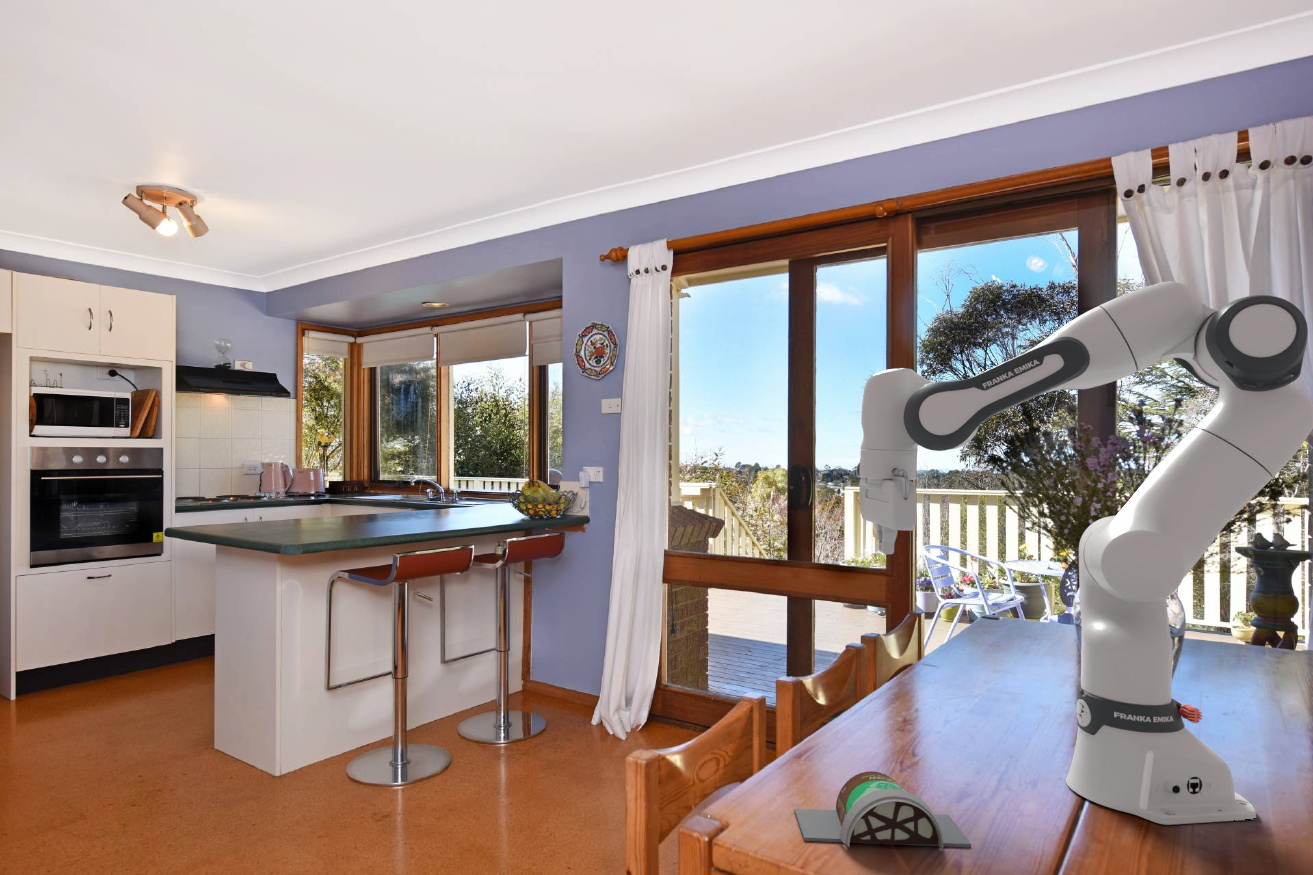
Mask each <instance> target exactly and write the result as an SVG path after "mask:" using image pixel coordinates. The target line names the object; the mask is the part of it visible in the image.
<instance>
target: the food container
mask: <svg viewBox="0 0 1313 875" xmlns="http://www.w3.org/2000/svg"><path fill="white" fill-rule="evenodd" d="M835 810H836V811H837V814H838V817H839V821H840V824H841V831H840V839H841V841H842V842H841V843H843V845H846V846H847V847H848V848H850V845H851V844H850V843H853V844H872V843H879V844H878V845H891V846H901V845H903V846H906V845H905V844H932V845H939V846H938V847H939V848H940V849H941V850H944V846H943V838H942V833H941V830H940V827H939V824H938V822H937V819H936V817H935V815H934V814H935V813H934V812H933V809H931V808H930V807H929V805H928V804H927V803H926V802H925V801H924V800H922V799H921V798H920V797H918V796H917V795H916V794H914V793H911V792H909V791H906V790H905V789H904V788H903V787H902V786H901V785H900V784H899V783H898V782H897V781H896V780H894V778H891V777H890V776H888V775H887V774H885V773H882V772H879V771H874V770H873V771H864V772H860V773H858V774H855V775H854V776H852V777H850V778H849V779H848V780H847V781H846V782H845V783H844V785H843V786H842V787H841V788H840V791H839V793H838V795H837V799H836V802H835Z"/></svg>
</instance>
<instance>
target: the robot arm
mask: <svg viewBox="0 0 1313 875" xmlns="http://www.w3.org/2000/svg"><path fill="white" fill-rule="evenodd" d="M1308 337H1309V329H1308V323H1307V319H1306V317H1305V316H1304V314H1303V312H1302V311H1301V310H1300V309H1299V307H1298V306H1296V305H1295V304H1294V303H1292V302H1290V301H1289V300H1287V299H1284V298H1282V297H1278V296H1275V295H1267V294H1259V295H1258V294H1257V295H1249V296H1244V297H1240V298H1237V299H1235V300H1232V301H1229V302H1228V303H1227V304H1224V305H1223V306H1222V307H1220V308H1219V309H1218V310H1217V308H1211V307H1209V306H1207V305H1206V304H1204V303H1202V300H1201V299H1200V296H1198V294H1197V293H1196V292H1195V291H1194V290H1193V289H1191V288H1190V287H1189V286H1187V285H1185V284H1184V283H1181V282H1178V281H1173V280H1169V281H1163V282H1158V283H1155V284H1151V285H1148V286H1144V287H1142V288H1139V289H1136V290H1133V291H1130V292H1128V293H1125V294H1122V295H1120V296H1118V297H1115V298H1113V299H1111V300H1109V301H1106V302H1103V303H1102V304H1100V305H1098V306H1096V307H1093V308H1092V309H1090V310H1087V311H1086V312H1084V313H1083V314H1080V315H1079V316H1077V317H1075V318H1074V319H1072V320H1071V321H1069V322H1067V323H1066V324H1063V326H1062V327H1060V328H1058V329H1057V330H1056V331H1054V332H1053V333H1052V334H1050V335H1049V336H1047V337H1046V338H1044V340H1043V341H1040V343H1038V344H1037V345H1035V346H1034V347H1032V348H1031V349H1029V350H1028V351H1026V352H1023V353H1021V354H1019V355H1017V356H1015V357H1014V358H1011V359H1009V360H1007V361H1004V362H1002V363H1000V364H998V365H996V366H994V367H992V368H991V367H990V368H989V369H987V370H986V371H983V372H981V373H978V374H977V375H973V376H972V377H968V378H966V379H965V378H964V379H961V380H959V379H958V380H949V381H947V380H946V381H945V380H944V381H936V382H934V381H932V380H930V379H928V378H926V377H923V376H922V375H921V374H919V373H917V372H916V371H915V370H913V369H912V368H907V367H900V368H899V367H898V368H891V369H886V370H885V369H884V370H881V371H878V372H876V373H874V374H872V375H871V376H870V377H868V379H867V380H866V382H865V386H864V389H863V395H862V404H861V405H862V407H861V418H860V419H861V427H862V431H863V438H862V443H861V444H860V455H859V456H860V459H859V462H858V464H857V466H856V477H857V478H860V479H859V482H858V483H859V486H858V487H859V503H860V504H859V506H860V507H859V509H860V510H859V511H860V513H861V514H860V515H861V517H862V519H863V520H864V521H868V522H871V523H873V524H875V532H876V537H877V542H878V543H877V550H878V552H880V553H882V554H884V555H893V554H894V553H895V544H896V539H897V537H898V531H911V532H912V531H915V529H916V526H917V518H918V517H917V515H918V514H917V492H916V490H917V489H916V485H915V483H914V482H913V481H914V480H917V464H918V463H917V458H918V456H917V455H918V446H920V447H922V448H924V449H926V450H931V451H933V452H943V451H948V450H954V449H959V448H961V447H963V446H965V445H967V444H968V443H970V441H972V440H973V439H974V437H975V436H976V435H977V433H978V431H979V429H980V425H981V424H983V423H984V422H985V421H986V420H988V419H990V418H992V417H993V416H995V415H998V414H1000V413H1002V412H1004V411H1007V410H1009V409H1011V408H1013V407H1016V406H1018V405H1019V404H1021V403H1024V402H1027V401H1029V400H1031V399H1033V398H1036V397H1038V396H1040V395H1043V394H1046V393H1050V392H1054V391H1060V390H1089V389H1091V388H1096V387H1100V386H1103V385H1106V384H1109V383H1113V382H1116V381H1118V380H1121V379H1124V378H1126V377H1129V376H1131V375H1133V374H1136V373H1138V372H1139V371H1142V370H1144V369H1147V368H1148V367H1151V366H1153V365H1155V364H1157V363H1159V362H1163V361H1166V360H1169V359H1173V360H1174V361H1175V362H1176V363H1177V364H1178V365H1180V366H1181V367H1182V368H1184V369H1185V370H1186V371H1187V372H1188V373H1190V375H1191V376H1193V377H1194V378H1195V379H1196V380H1198V381H1199V382H1200V383H1202V384H1203V385H1205V386H1207V387H1209V388H1212V389H1215V390H1218V391H1219V392H1218V393H1219V394H1218V397H1217V400H1216V402H1215V403H1214V405H1213V407H1212V408H1211V409H1210V410H1209V412H1207V414H1206V415H1205V416H1204V417H1203V418H1202V419H1201V420H1200V421H1199V422H1197V424H1195V426H1194V427H1193V428H1192V429H1191V430H1190V431H1189V432H1188V433H1187V434H1186V435H1185V436H1184V437H1183V438H1181V440H1180V441H1179V442H1178V443H1177V444H1176V445H1175V446H1174V447H1173V448H1172V449H1171V450H1170V451H1169V452H1168V453H1167V454H1166V456H1164V457H1163V458H1162V459H1161V460H1160V462H1158V464H1157V465H1156V466H1155V467H1154V468H1152V470H1151V471H1150V472H1149V473H1148V476H1147V477H1146V478H1145V479H1144V481H1143V482H1142V483H1141V485H1140V486H1139V487H1138V489H1137V490H1136V491H1135V492H1134V494H1132V496H1131V497H1130V499H1129V500H1128V501H1127V502H1126V503H1125V505H1124V506H1123V507H1122V508H1121V509H1120V510H1119V512H1117V514H1116V515H1110V516H1109V515H1108V516H1105V517H1101V518H1100V519H1098V520H1095V521H1094V522H1093V523H1091V524H1090V525H1089V526H1088V527H1087V528H1086V529H1085V530H1084V532H1083V533H1082V535H1081V537H1080V540H1079V544H1078V576H1079V577H1078V579H1079V584H1078V585H1079V604H1080V605H1079V606H1080V610H1079V611H1080V624H1081V626H1080V627H1081V628H1080V629H1081V647H1080V648H1081V650H1080V652H1081V654H1080V684H1079V685H1077V688H1076V689H1077V690H1076V723H1077V734H1076V740H1075V741H1076V742H1075V747H1074V752H1073V757H1072V760H1071V764H1070V768H1069V770H1068V772H1067V775H1066V778H1065V782H1066V784H1067V786H1068V787H1069V788H1070V789H1071V790H1072V791H1073V792H1075V793H1076V794H1077V795H1079V796H1081V797H1083V798H1085V799H1087V800H1088V801H1091V802H1094V803H1096V804H1098V805H1100V806H1103V807H1107V808H1109V809H1114V810H1116V811H1119V812H1124V813H1128V814H1131V815H1135V816H1137V817H1141V818H1143V819H1145V820H1148V821H1151V822H1153V823H1157V824H1160V825H1166V826H1170V825H1184V824H1187V825H1188V824H1199V823H1200V824H1201V823H1217V822H1218V823H1219V822H1233V821H1234V820H1235V821H1246V820H1245V819H1250V818H1256V819H1257V813H1256V810H1255V807H1254V806H1253V805H1252V803H1251V802H1249V801H1248V800H1247V799H1246V798H1245V797H1243V796H1242V795H1240V794H1239V793H1238V792H1236V791H1235V784H1234V779H1233V775H1232V772H1231V768H1230V767H1229V765H1228V764H1227V762H1226V761H1225V760H1224V759H1223V757H1221V756H1220V755H1219V754H1218V753H1217V752H1216V751H1214V750H1213V749H1212V748H1211V747H1210V746H1208V745H1207V744H1206V743H1204V742H1203V741H1202V740H1201V739H1200V738H1198V737H1197V736H1196V735H1195V734H1194V733H1192V732H1191V731H1190V730H1189V729H1187V728H1186V727H1185V726H1186V725H1185V723H1184V720H1183V719H1185V720H1187V721H1189V722H1191V723H1193V724H1197V723H1199V722H1201V720H1203V712H1202V711H1201V709H1199V708H1196V707H1193V706H1192V705H1190V704H1182V703H1181V702H1179V701H1177V700H1176V699H1174V698H1172V692H1173V691H1172V684H1173V683H1172V682H1173V681H1172V680H1173V679H1172V678H1173V639H1172V636H1171V629H1170V622H1169V614H1168V603H1167V598H1168V597H1169V596H1171V595H1172V594H1173V593H1174V592H1175V591H1176V590H1177V589H1178V588H1179V586H1180V585H1181V583H1182V582H1183V580H1184V578H1185V577H1186V576H1187V575H1188V573H1189V572H1190V571H1191V570H1193V568H1194V566H1195V565H1196V564H1197V563H1198V561H1199V560H1200V559H1201V558H1202V557H1203V556H1204V554H1205V553H1206V551H1208V548H1210V546H1211V545H1212V544H1213V542H1214V541H1215V539H1216V538H1217V536H1218V535H1219V534H1220V532H1222V530H1223V529H1224V528H1225V526H1226V525H1228V523H1229V522H1230V521H1231V520H1232V519H1233V518H1234V517H1235V516H1236V515H1237V514H1238V513H1239V512H1240V511H1241V510H1242V509H1243V508H1244V507H1245V506H1246V505H1247V504H1248V503H1249V502H1250V501H1251V500H1252V499H1253V498H1254V497H1255V496H1256V495H1257V494H1258V493H1259V492H1261V490H1262V489H1263V488H1264V487H1265V486H1266V485H1267V484H1268V483H1269V482H1270V481H1271V480H1272V479H1273V478H1275V477H1276V476H1277V474H1278V473H1280V472H1281V470H1283V469H1284V467H1285V466H1286V465H1287V464H1288V463H1289V461H1291V459H1292V458H1293V457H1294V456H1295V454H1296V453H1297V452H1298V451H1299V449H1300V448H1301V447H1302V445H1304V442H1305V441H1306V440H1307V439H1308V437H1309V435H1310V434H1311V432H1312V430H1313V401H1312V400H1311V398H1309V396H1308V395H1306V394H1305V393H1304V392H1303V391H1301V390H1300V389H1299V388H1297V387H1296V386H1295V385H1293V384H1292V383H1294V382H1295V381H1296V380H1297V379H1299V377H1300V376H1301V373H1302V367H1303V362H1304V357H1305V352H1306V349H1307V344H1308V339H1309V338H1308Z"/></svg>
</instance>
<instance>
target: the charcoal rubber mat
mask: <svg viewBox="0 0 1313 875" xmlns="http://www.w3.org/2000/svg"><path fill="white" fill-rule="evenodd" d="M793 812H794V815H795V817H796V821H797V824H798V826H799V829H800V833H801V836H802V838H803V841H804V842H822V843H823V842H829V843H843V842H842V841H841V839H840V831H841V824H840V821H839V817H838V814H837V811H836V809H814V808H813V809H810V808H809V809H808V808H794V810H793ZM934 815H935V817H936V819H937V822H938V824H939V827H940V830H941V833H942V838H943V847H948V848H949V847H950V848H951V847H952V848H972V843H971V842H970V841H969V840H968V838H967V837H966V835H965V834H964V833H963V832H962V830H961V829H960V828H959V826H958V825H957V824H956V822H955V821H954V820H953V819H952V817H951V816H950V814H939V813H938V814H937V813H934ZM871 844H872V845H873V844H874V845H875V844H877V845H880V844H879V843H871ZM904 846H927V847H928V846H929V847H939V845H932V844H905V845H904Z"/></svg>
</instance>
